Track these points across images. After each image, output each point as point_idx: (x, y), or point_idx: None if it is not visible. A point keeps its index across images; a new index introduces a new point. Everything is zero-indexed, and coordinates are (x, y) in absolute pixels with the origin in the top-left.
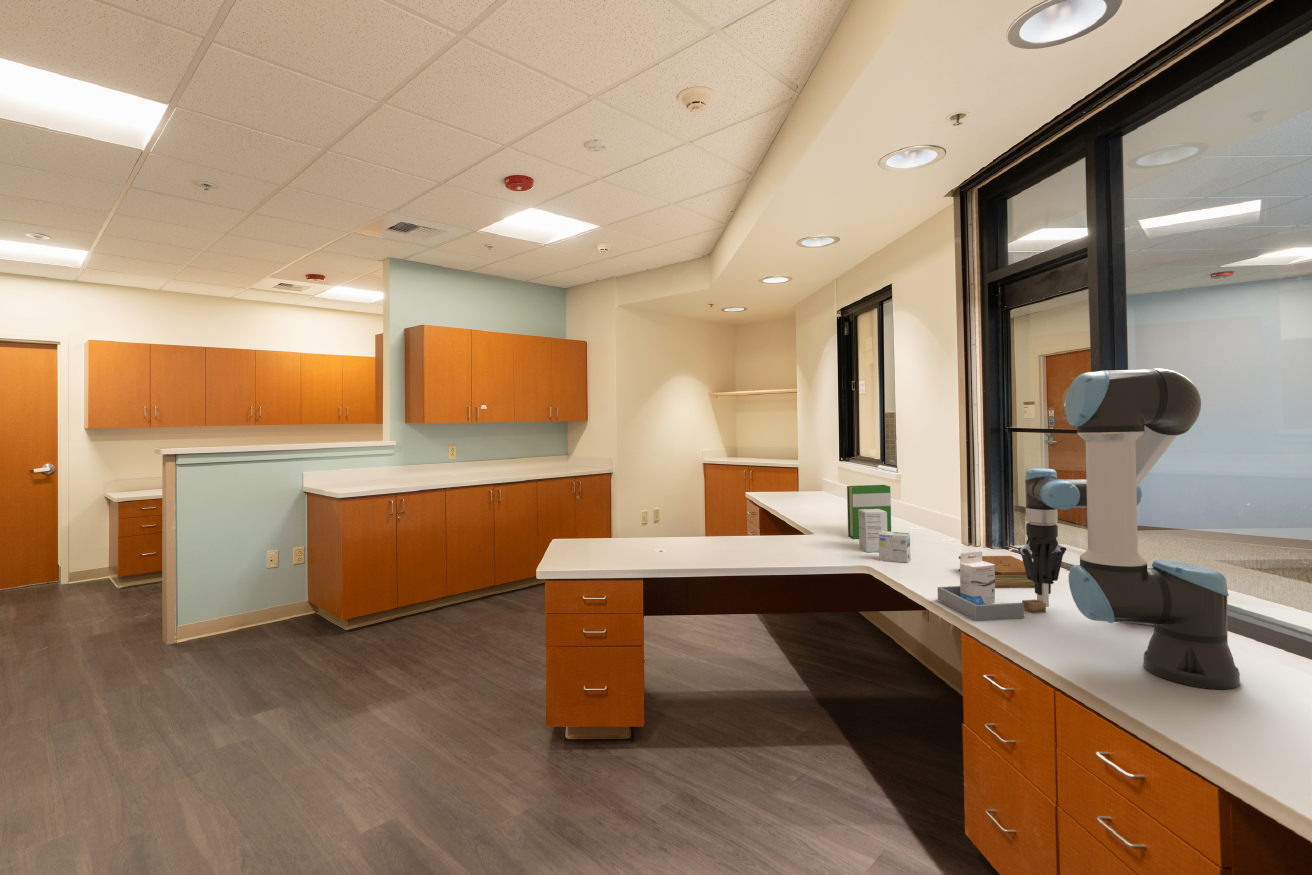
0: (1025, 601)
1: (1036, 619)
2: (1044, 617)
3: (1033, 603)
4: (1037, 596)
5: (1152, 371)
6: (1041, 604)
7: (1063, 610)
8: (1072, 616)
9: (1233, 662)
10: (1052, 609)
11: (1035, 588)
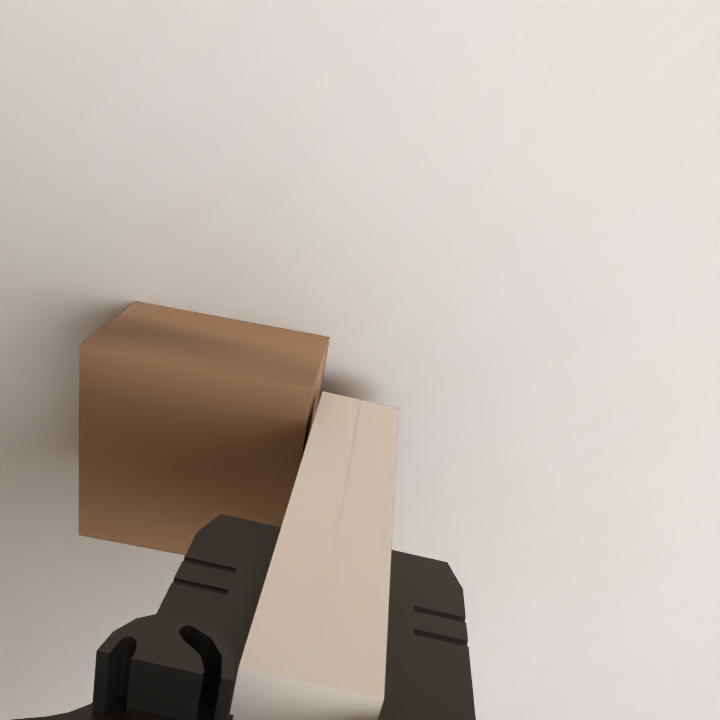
0: (85, 404)
1: (13, 610)
2: (138, 603)
3: (125, 510)
4: (304, 459)
5: None
6: None
7: (554, 535)
8: None
9: None
10: (471, 464)
11: (169, 601)
